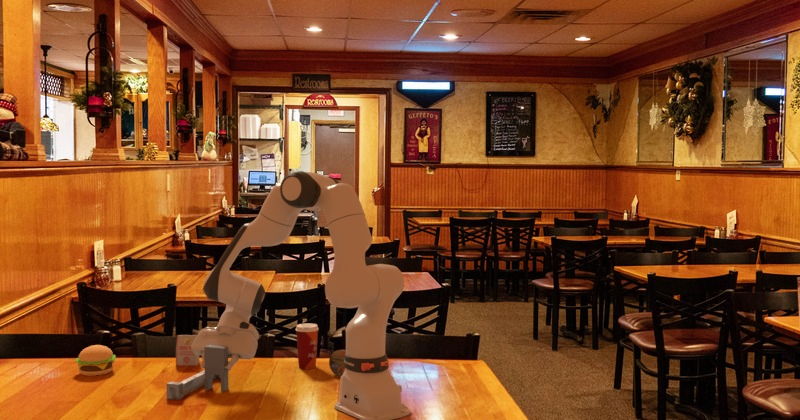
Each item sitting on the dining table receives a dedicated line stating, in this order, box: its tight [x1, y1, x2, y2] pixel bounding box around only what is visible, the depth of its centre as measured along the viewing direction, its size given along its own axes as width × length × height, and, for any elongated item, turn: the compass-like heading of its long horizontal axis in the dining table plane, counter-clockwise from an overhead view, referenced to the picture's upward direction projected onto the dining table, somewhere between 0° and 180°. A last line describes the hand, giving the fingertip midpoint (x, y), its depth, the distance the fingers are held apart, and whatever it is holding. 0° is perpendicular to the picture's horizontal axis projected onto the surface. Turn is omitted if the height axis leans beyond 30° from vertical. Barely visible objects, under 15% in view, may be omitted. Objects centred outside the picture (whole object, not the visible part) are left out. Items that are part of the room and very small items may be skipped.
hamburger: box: [75, 344, 117, 377], centre depth 239 cm, size 12×12×9 cm
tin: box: [328, 349, 346, 378], centre depth 235 cm, size 15×3×8 cm, turn 62°
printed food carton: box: [175, 334, 200, 367], centre depth 249 cm, size 4×7×10 cm, turn 88°
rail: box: [166, 369, 221, 401], centre depth 223 cm, size 24×4×4 cm, turn 163°
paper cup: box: [295, 322, 320, 370], centre depth 246 cm, size 8×8×14 cm
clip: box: [204, 345, 229, 393], centre depth 221 cm, size 6×3×13 cm, turn 73°
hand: (215, 368), depth 221 cm, fingers closed on clip, 6 cm apart
